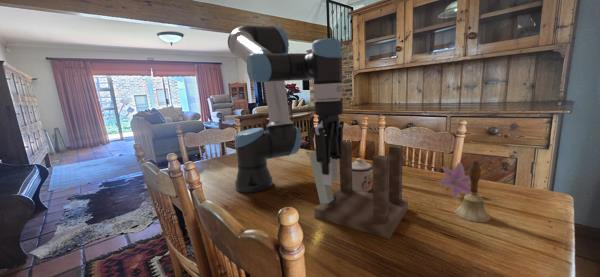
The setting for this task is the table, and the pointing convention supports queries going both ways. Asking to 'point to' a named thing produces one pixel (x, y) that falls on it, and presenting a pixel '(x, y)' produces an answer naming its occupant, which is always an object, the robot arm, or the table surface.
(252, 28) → the robot arm
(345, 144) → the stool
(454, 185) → the lily
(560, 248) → the table surface
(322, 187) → the folding leg
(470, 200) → the hand bell
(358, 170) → the teacup with lid
